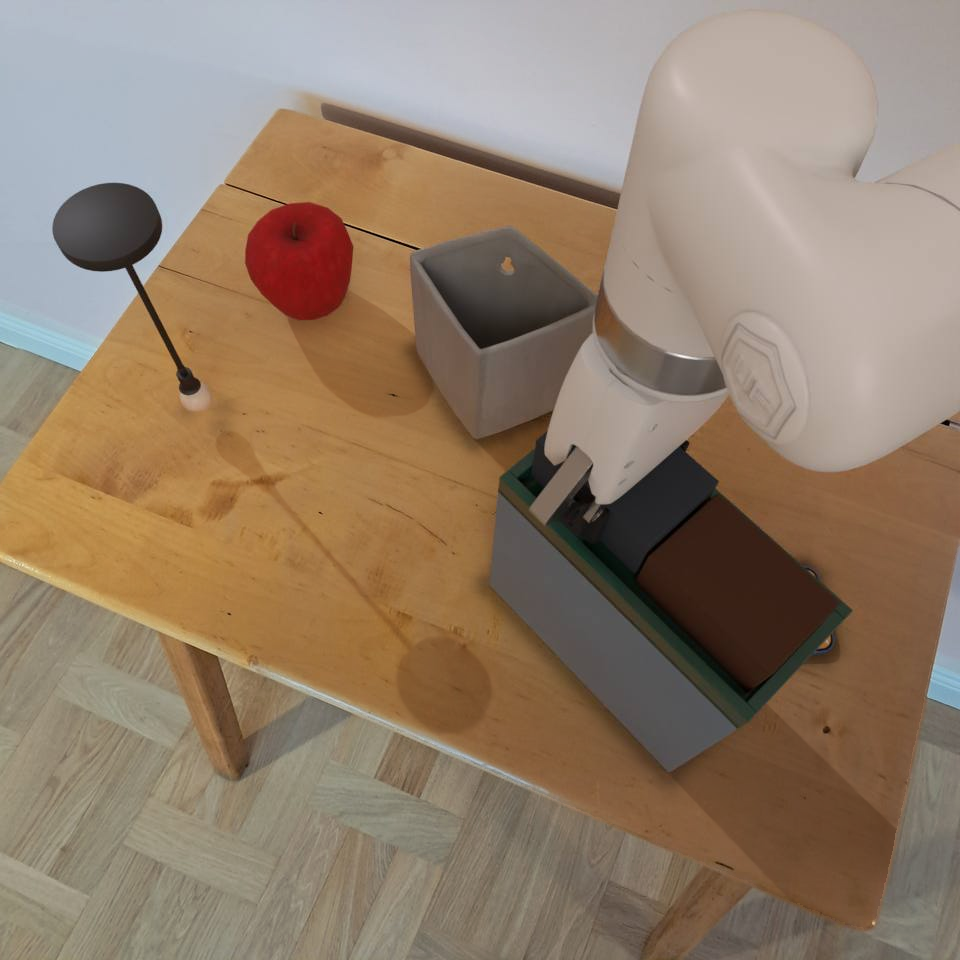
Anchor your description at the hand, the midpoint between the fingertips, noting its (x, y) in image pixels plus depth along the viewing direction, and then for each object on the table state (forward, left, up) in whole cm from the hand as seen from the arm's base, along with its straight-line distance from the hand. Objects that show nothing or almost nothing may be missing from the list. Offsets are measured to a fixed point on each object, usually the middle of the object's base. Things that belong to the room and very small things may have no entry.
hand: (616, 490), depth 54 cm
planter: (+19, -7, -20) cm, 28 cm away
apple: (+39, -2, -20) cm, 44 cm away
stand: (-4, 0, -20) cm, 21 cm away
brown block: (-9, 0, -2) cm, 9 cm away
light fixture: (+35, +13, -20) cm, 42 cm away
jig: (-4, 0, -2) cm, 5 cm away
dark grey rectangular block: (0, 0, -1) cm, 1 cm away
